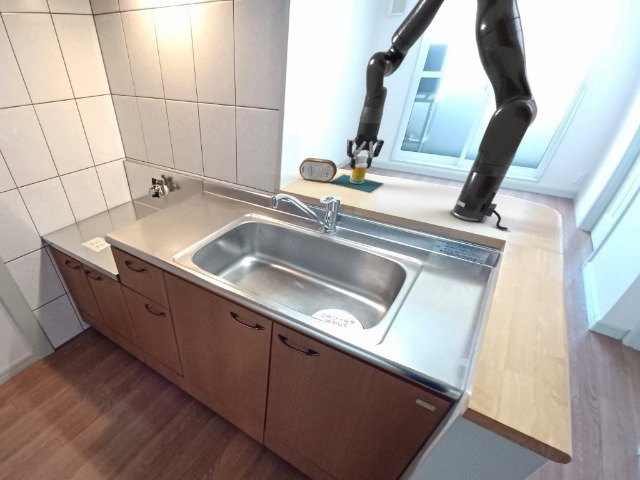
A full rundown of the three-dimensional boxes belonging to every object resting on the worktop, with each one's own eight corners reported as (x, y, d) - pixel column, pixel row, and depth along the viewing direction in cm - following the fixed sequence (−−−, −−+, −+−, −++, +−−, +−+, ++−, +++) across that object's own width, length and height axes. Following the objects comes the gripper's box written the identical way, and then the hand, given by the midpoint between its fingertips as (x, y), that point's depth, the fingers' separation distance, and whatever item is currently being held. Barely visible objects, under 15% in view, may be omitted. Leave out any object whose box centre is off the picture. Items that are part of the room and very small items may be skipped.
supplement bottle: (364, 184, 129) (371, 158, 123) (351, 184, 130) (356, 158, 123) (361, 179, 134) (367, 154, 128) (348, 179, 134) (353, 154, 128)
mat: (382, 183, 132) (382, 183, 131) (369, 192, 124) (369, 191, 124) (344, 175, 140) (344, 174, 140) (329, 182, 132) (329, 182, 132)
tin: (335, 181, 133) (338, 160, 128) (333, 183, 131) (337, 162, 125) (299, 177, 138) (301, 156, 133) (297, 179, 136) (299, 158, 130)
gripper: (354, 122, 114) (345, 171, 125) (394, 122, 115) (381, 170, 126) (347, 118, 120) (338, 165, 131) (384, 118, 121) (373, 165, 132)
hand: (359, 168), depth 128 cm, fingers closed on supplement bottle, 5 cm apart
